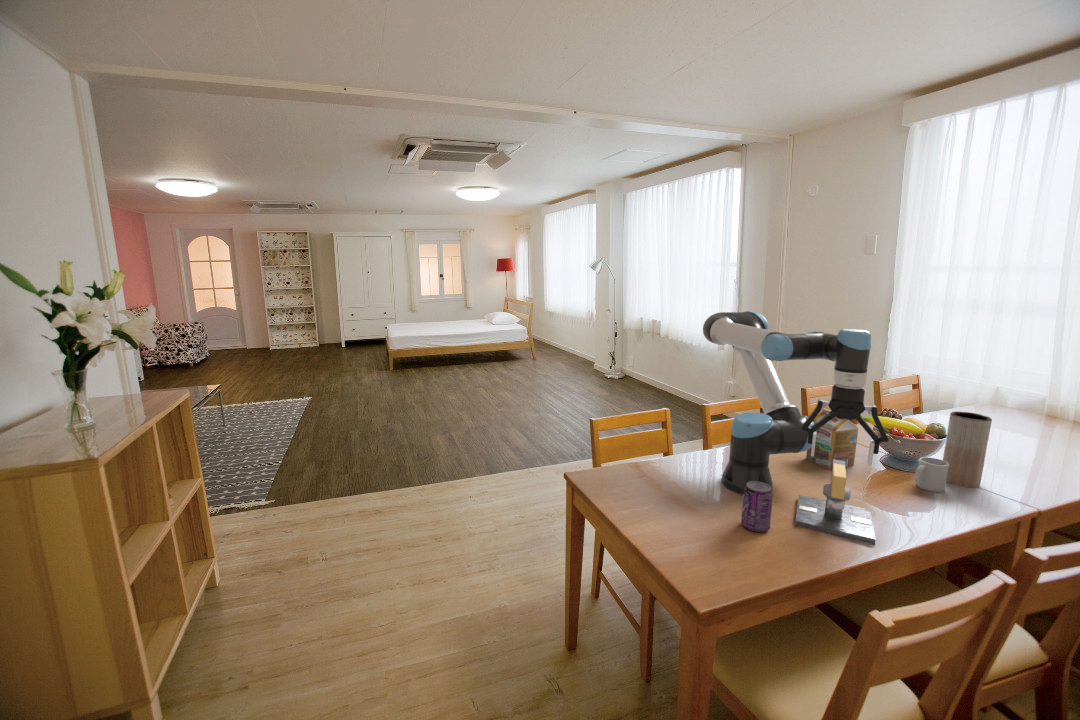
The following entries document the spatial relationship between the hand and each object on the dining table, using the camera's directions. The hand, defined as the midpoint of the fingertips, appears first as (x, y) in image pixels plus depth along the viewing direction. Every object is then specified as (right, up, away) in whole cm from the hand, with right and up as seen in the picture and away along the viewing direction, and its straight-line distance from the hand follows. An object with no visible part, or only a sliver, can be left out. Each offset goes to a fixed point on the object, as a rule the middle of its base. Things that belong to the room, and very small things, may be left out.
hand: (840, 459), depth 132 cm
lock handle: (-2, -10, -2) cm, 10 cm away
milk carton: (+21, -10, +40) cm, 46 cm away
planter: (+55, -13, +24) cm, 61 cm away
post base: (-2, -17, -1) cm, 17 cm away
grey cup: (+40, -13, +19) cm, 46 cm away
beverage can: (-26, -18, -4) cm, 32 cm away
